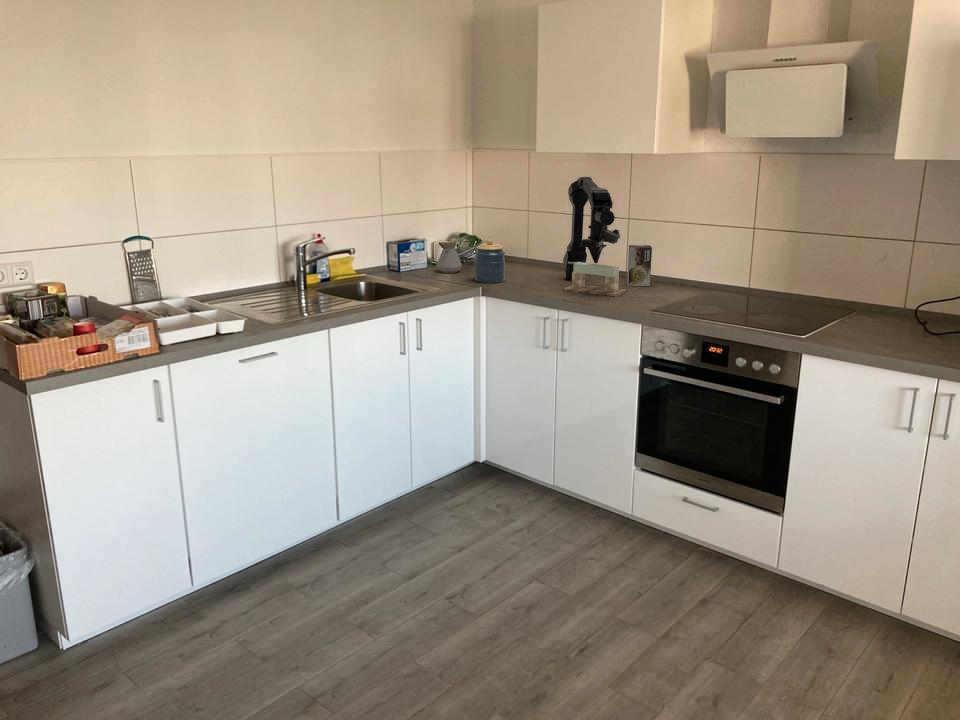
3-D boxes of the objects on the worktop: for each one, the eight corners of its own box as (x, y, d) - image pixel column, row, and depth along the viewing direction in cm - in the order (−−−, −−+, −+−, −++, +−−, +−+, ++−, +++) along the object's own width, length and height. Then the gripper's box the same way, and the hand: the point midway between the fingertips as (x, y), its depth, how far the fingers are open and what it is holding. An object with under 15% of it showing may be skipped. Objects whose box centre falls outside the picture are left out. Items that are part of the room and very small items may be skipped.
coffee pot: (440, 269, 352) (440, 236, 348) (464, 270, 349) (464, 237, 345) (426, 277, 332) (425, 242, 328) (451, 278, 329) (451, 243, 325)
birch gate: (563, 290, 304) (564, 273, 302) (574, 286, 313) (575, 269, 311) (616, 296, 293) (617, 278, 291) (626, 292, 302) (627, 274, 300)
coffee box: (648, 283, 320) (651, 245, 315) (650, 286, 314) (652, 247, 309) (626, 283, 321) (628, 244, 316) (627, 286, 315) (629, 246, 310)
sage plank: (573, 272, 305) (573, 263, 304) (578, 270, 308) (579, 262, 307) (613, 277, 294) (614, 268, 293) (618, 275, 297) (619, 266, 296)
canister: (503, 277, 331) (504, 236, 326) (506, 283, 319) (506, 240, 314) (473, 277, 331) (474, 236, 326) (474, 283, 318) (474, 240, 313)
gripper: (609, 226, 284) (606, 268, 288) (626, 221, 299) (623, 261, 304) (581, 224, 289) (579, 265, 294) (599, 220, 305) (597, 259, 309)
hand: (595, 263), depth 300 cm, fingers closed
